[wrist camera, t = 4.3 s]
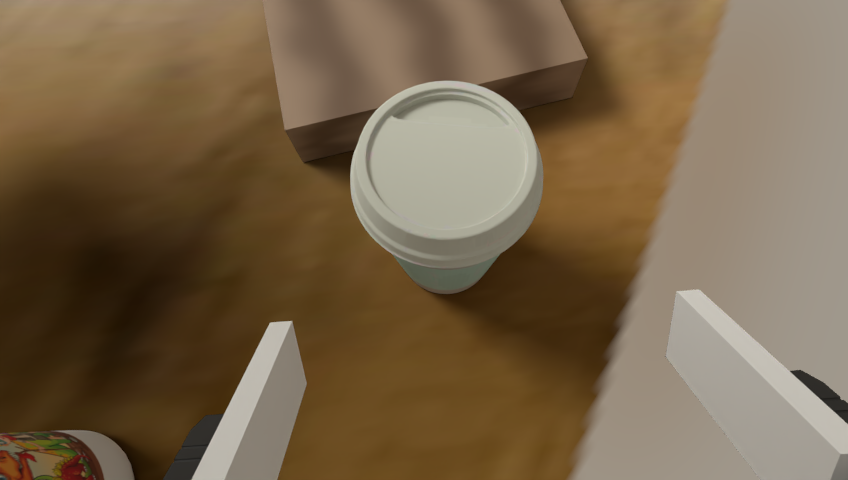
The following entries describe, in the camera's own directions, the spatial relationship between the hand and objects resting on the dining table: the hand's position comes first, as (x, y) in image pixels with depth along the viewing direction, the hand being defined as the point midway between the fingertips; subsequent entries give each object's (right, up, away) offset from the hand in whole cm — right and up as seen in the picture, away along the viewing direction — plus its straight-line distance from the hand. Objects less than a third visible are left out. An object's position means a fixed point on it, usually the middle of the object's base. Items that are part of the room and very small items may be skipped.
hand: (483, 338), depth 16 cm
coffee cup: (-1, +3, +14) cm, 15 cm away
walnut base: (-3, +20, +21) cm, 29 cm away
